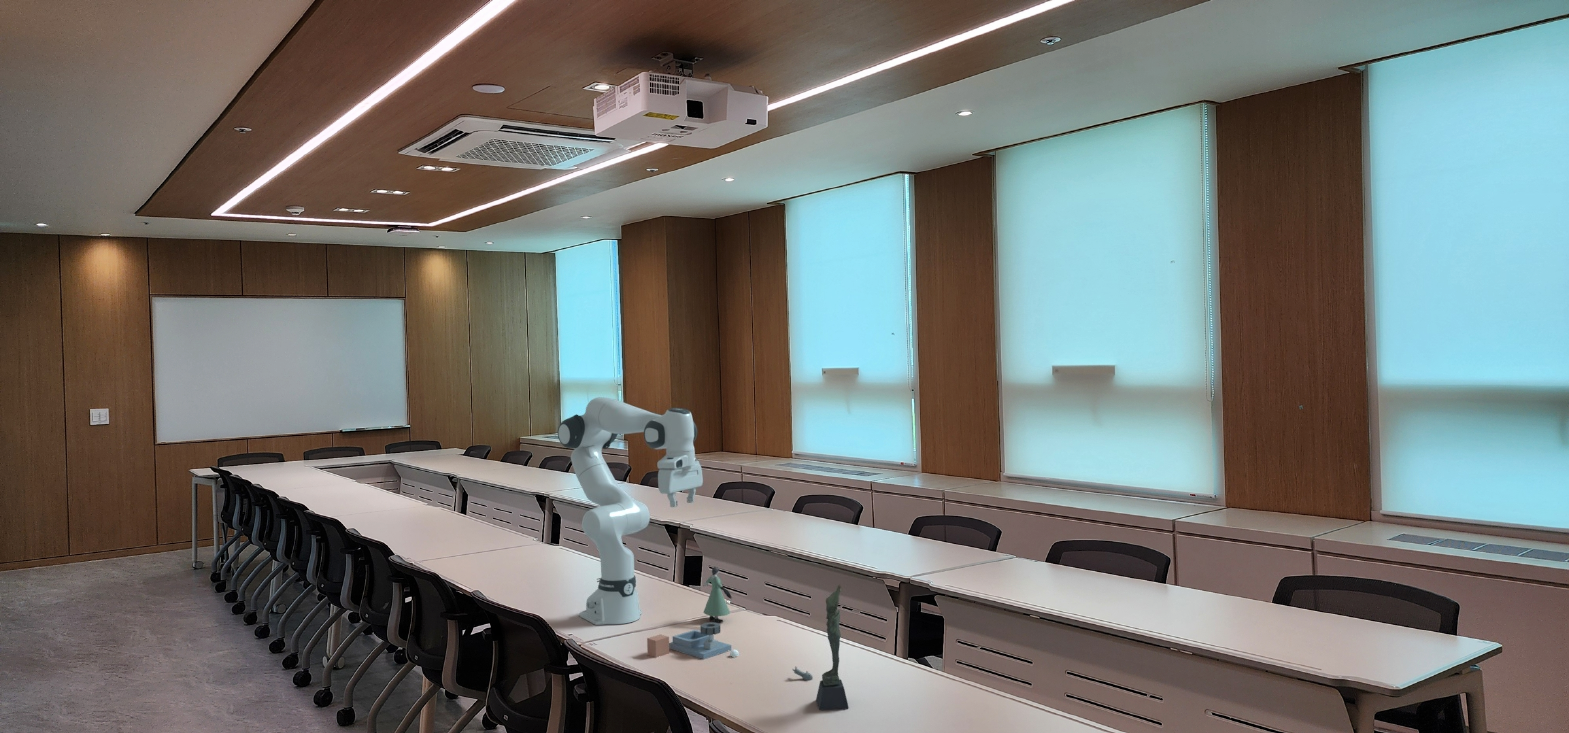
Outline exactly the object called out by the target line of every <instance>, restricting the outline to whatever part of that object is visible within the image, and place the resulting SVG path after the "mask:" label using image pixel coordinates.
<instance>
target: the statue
mask: <svg viewBox="0 0 1569 733" xmlns="http://www.w3.org/2000/svg"><path fill="white" fill-rule="evenodd" d="M841 592H842V586H841V584H839V585H837V588H836V590H835V591H834V592H832V593H831V594H829V596H828V597H826V599H825V604H826V605H825V606H826V609H825V611H826V618H825V619H827V621H826V624H825V625H826V627H827V628H826V634H827V640H828V643H829V646H830V650H831V658H832V668H831V669H830V670H827V671H825V672H824V673H822V675H821V680H820V681H819V686H818V688H817V693H816V697H815V698H816V699H815V701H816V705H817V708H818V710H820V711H830V710H831V711H832V710H833V711H834V710H847V709H849V708H850V706H849V703H848V699H847V695H846V691H845V687H844V684H843V681H842V679H840V676H839V672H838V671H839V667H840V666H839V664H840V657H839V656H840V644H841V643H840V640H841V634H842V633H841V631H840V621H841V620H840V619H841V612H840V610H838V607H839V602H840V593H841Z"/></svg>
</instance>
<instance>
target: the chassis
mask: <svg viewBox="0 0 1569 733" xmlns="http://www.w3.org/2000/svg"><path fill="white" fill-rule="evenodd" d="M714 636H715V634H713V635H707V634H706V635H704V634H701V630H698V629H693V630H690V631H686V632H683V633H679V634H675V635H672V642H669V650H670V649H671V650H673V651H675V652H676V651H677V652H680V653H683V654H685V655H689V656H692V657H696V658H698V659H702V660H705V659H708V658H712V657H715V656H717V654H718V655H721V654H724V653H727V652H729V651H728V650H730V651H732V644H729V643H725V642H722V641H719V640H717V639H714V638H715V637H714ZM726 651H727V652H726ZM723 652H724V653H723Z"/></svg>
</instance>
